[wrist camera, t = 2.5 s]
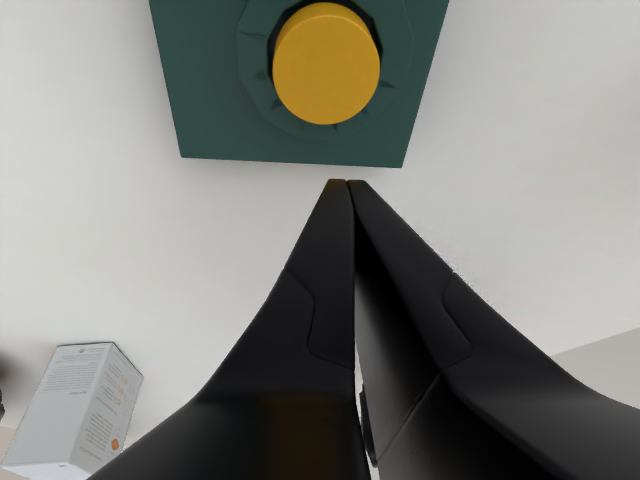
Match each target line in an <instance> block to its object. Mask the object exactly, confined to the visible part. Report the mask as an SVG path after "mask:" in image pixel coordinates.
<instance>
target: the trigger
mask: <svg viewBox="0 0 640 480" xmlns="http://www.w3.org/2000/svg"><path fill="white" fill-rule="evenodd" d="M272 72H273V81H274V86H275V89H276V92H277V94H278V96H279V98H280V100H281V101H282V103H283V104H284V105H285V106H286V108H287V109H288V110H289V111H291V112H292V113H293V114H294V115H296V116H297V117H299V118H301V119H302V120H305V121H307V122H310V123H314V124H321V125H328V124H335V123H339V122H342V121H345V120H347V119H349V118H351V117H353V116H354V115H356V114H357V113H358V112H360V111H361V110H362V109H363V108H364V107H365V106H366V105H367V103H368V102H369V100H370V99H371V98H372V96H373V94H374V92H375V89H376V87H377V84H378V80H379V73H380V62H379V56H378V52H377V49H376V46H375V44H374V42H373V39H372V37H371V35H370V32H369V30H368V28H367V27H366V25H365V23H364V22H363V21H362V19H361V18H360V17H359V16H358V15H357V14H356V13H355V12H353V11H352V10H350V9H349V8H347V7H345V6H343V5H340V4H337V3H331V2H319V3H314V4H310V5H307V6H305V7H303V8H301V9H300V10H298V11H297V12H295V13H294V14H293V15H292V16H291V17H290V18H289V19H288V20H287V21H286V22H285V24H284V25H283V27H282V28H281V30H280V33H279V35H278V38H277V41H276V45H275V51H274V59H273V70H272Z"/></svg>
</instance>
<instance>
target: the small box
mask: <svg viewBox="0 0 640 480" xmlns="http://www.w3.org/2000/svg"><path fill="white" fill-rule="evenodd" d="M142 379H143V377H142V376H141V374H140V373H139V372H138V371H137V370H136V369H135V368H134V367H133V365H132V364H131V363H130V362H129V361H128V360H127V359H126V357H125V356H124V355H123V354H122V353H121V352H120V351H119V350H118V348H117V347H116V346H115V345H114V344H113V343H100V344H86V345H71V346H59V347H57V348H56V350H55V352H54V354H53V356H52V358H51V360H50V362H49V364H48V366H47V368H46V370H45V372H44V375H43V377H42V379H41V381H40V383H39V385H38V387H37V389H36V391H35V393H34V395H33V397H32V399H31V401H30V403H29V406H28V408H27V410H26V412H25V414H24V416H23V418H22V420H21V422H20V424H19V426H18V428H17V430H16V433H15V435H14V437H13V439H12V441H11V443H10V446H9V447H8V450H7V451H6V453H5V456H4V458H3V460H2V462H1V464H0V468H3V469H5V470H8V471H10V472H13V473H16V474H18V475H21V476H23V477H26V478H28V479H31V480H86V479H87V478H88V477H90V476H91V475H92V474H94V473H95V472H96V471H98V470H99V469H100V468H102V467H103V466H104V465H106V464H107V463H108V462H110V461H111V460H112V459H114V458H115V457H116V456H118V455H119V454H120V453H121V451H122V448H123V445H124V441H125V438H126V434H127V431H128V427H129V424H130V420H131V417H132V414H133V410H134V407H135V403H136V400H137V396H138V393H139V389H140V386H141V382H142Z"/></svg>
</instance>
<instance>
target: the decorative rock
mask: <svg viewBox="0 0 640 480" xmlns="http://www.w3.org/2000/svg"><path fill="white" fill-rule="evenodd" d="M1 401H2V390H1V388H0V421H1V419H2V417H3V415H4V413H5V410H4V407H3V404H1Z"/></svg>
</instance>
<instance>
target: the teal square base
mask: <svg viewBox="0 0 640 480" xmlns="http://www.w3.org/2000/svg"><path fill="white" fill-rule="evenodd" d="M319 2H331V3H337V4H340V5H343V6H345V7H347V8H349V9H350V10H352V11H353V12H355V13H356V14H357V15H358V16H359V17H360V18H361V19H362V21H363V22H364V23H365V25H366V27H367V28H368V30H369V32H370V35H371V37H372V39H373V42H374V44H375V46H376V49H377V52H378V56H379V62H380V73H379V80H378V84H377V87H376V89H375V92H374V94H373V96H372V98H371V99H370V100H369V102H368V103H367V105H366V106H365V107H364V108H363V109H362V110H361V111H360V112H358V113H357V114H356V115H354V116H353V117H351V118H349V119H347V120H345V121H342V122H339V123H335V124H328V125H321V124H314V123H310V122H307V121H305V120H302V119H301V118H299V117H297V116H296V115H294V114H293V113H292V112H291V111H289V110H288V109H287V108H286V106H285V105H284V104H283V103H282V101H281V100H280V98H279V96H278V94H277V92H276V89H275V86H274V81H273V72H272V70H273V59H274V51H275V45H276V41H277V38H278V35H279V33H280V30H281V28H282V27H283V25H284V24H285V22H286V21H287V20H288V19H289V18H290V17H291V16H292V15H293V14H294V13H295V12H297V11H298V10H300V9H301V8H303V7H305V6H307V5H310V4H314V3H319ZM448 3H449V0H149V5H150V9H151V14H152V19H153V24H154V29H155V34H156V38H157V43H158V48H159V53H160V58H161V63H162V67H163V72H164V77H165V82H166V87H167V92H168V96H169V101H170V106H171V111H172V116H173V121H174V125H175V130H176V135H177V140H178V145H179V150H180V154H181V157H182V158H201V159H222V160H242V161H263V162H284V163H304V164H325V165H346V166H366V167H387V168H402V165H403V162H404V158H405V155H406V151H407V147H408V144H409V140H410V137H411V133H412V130H413V126H414V123H415V119H416V116H417V112H418V109H419V105H420V102H421V98H422V95H423V91H424V88H425V84H426V81H427V77H428V74H429V70H430V67H431V63H432V59H433V56H434V52H435V49H436V45H437V42H438V38H439V35H440V31H441V28H442V24H443V21H444V17H445V14H446V10H447V7H448Z"/></svg>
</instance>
